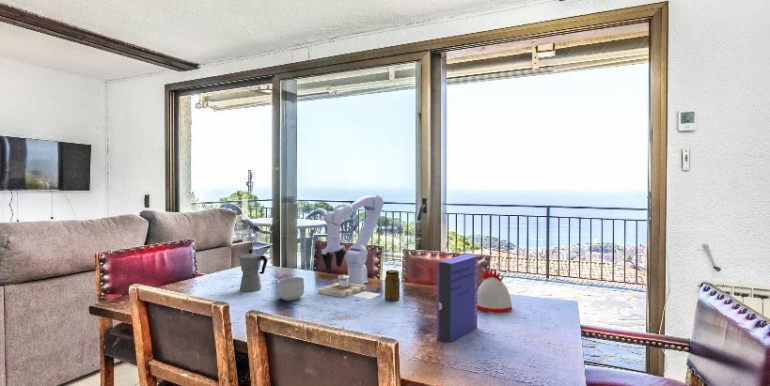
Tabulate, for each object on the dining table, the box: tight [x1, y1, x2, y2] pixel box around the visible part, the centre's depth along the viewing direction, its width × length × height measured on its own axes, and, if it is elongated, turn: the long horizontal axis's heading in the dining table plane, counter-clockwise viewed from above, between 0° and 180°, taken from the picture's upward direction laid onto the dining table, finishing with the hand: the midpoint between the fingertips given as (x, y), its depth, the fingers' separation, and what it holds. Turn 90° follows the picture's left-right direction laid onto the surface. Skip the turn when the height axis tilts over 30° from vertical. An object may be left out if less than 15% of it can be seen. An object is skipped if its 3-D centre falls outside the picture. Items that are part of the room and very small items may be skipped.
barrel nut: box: [337, 274, 349, 289], centre depth 181 cm, size 5×5×7 cm
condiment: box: [384, 269, 401, 302], centre depth 168 cm, size 7×8×12 cm
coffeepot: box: [237, 249, 268, 293], centre depth 185 cm, size 15×9×18 cm, turn 70°
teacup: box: [276, 276, 305, 302], centre depth 172 cm, size 14×11×8 cm
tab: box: [352, 290, 382, 300], centre depth 175 cm, size 9×9×1 cm
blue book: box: [436, 254, 479, 344], centre depth 132 cm, size 17×5×24 cm, turn 141°
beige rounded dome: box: [477, 268, 513, 314], centre depth 159 cm, size 14×14×15 cm
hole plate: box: [317, 281, 367, 298], centre depth 182 cm, size 16×14×2 cm
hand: (333, 267), depth 187 cm, fingers open, 7 cm apart
